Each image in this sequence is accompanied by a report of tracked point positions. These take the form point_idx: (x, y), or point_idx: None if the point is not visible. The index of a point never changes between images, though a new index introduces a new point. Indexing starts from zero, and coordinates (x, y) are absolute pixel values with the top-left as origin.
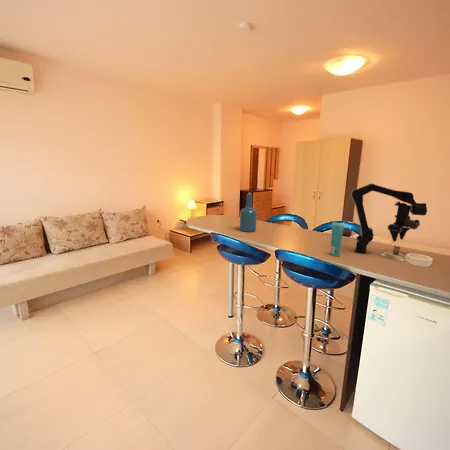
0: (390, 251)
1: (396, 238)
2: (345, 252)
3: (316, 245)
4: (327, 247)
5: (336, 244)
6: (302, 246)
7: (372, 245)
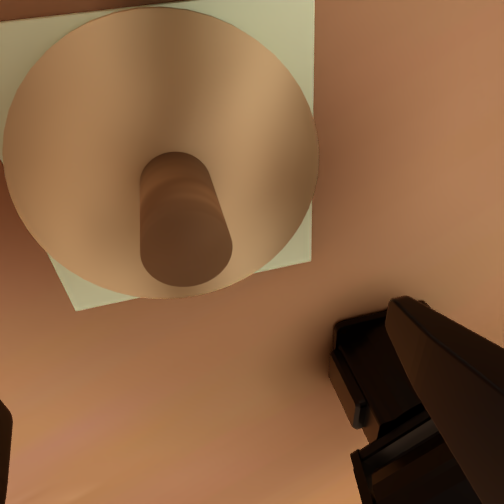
0: (115, 286)
1: (480, 345)
2: None
3: None
4: None
5: None
6: None
7: (44, 462)
